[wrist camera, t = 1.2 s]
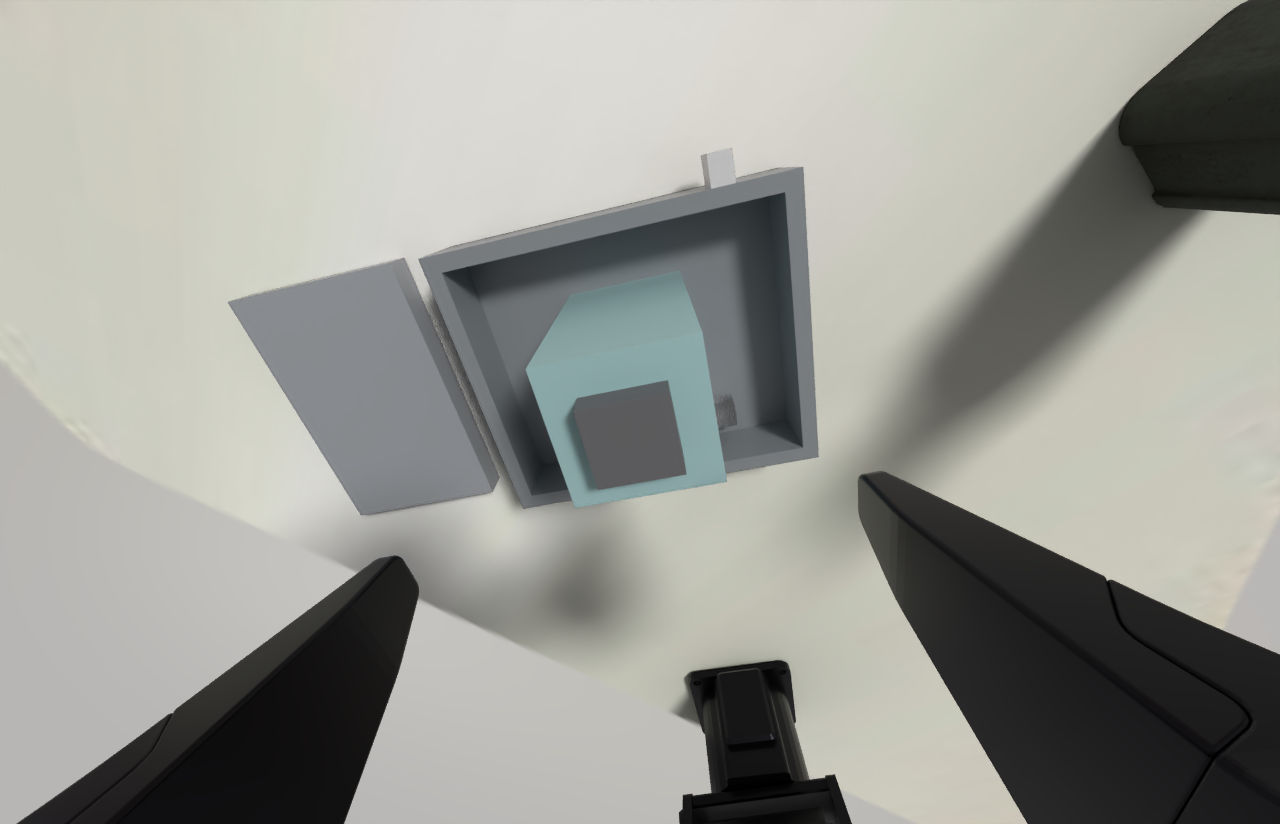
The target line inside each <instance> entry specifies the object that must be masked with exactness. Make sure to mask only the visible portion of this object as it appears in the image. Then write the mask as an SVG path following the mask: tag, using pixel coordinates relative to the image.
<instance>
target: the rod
mask: <svg viewBox="0 0 1280 824" xmlns="http://www.w3.org/2000/svg"><path fill="white" fill-rule="evenodd" d="M713 400H714V406H715V412H716V418H717V424H718V429H719V428H725V427H730V426H735V425H737V416H736V410H735V405H734V401H733V397H732V395H731V394H728V395H722V396H717V397H713Z"/></svg>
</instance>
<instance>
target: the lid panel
mask: <svg viewBox="0 0 1280 824" xmlns="http://www.w3.org/2000/svg"><path fill="white" fill-rule="evenodd" d="M228 304H229V305H230V307H231V308H232V310H233V312H234V313H235V315H236V316H237V318H238V320H239V321H240V323H241V324H242V326H243V328H244V329H245V331H246V332H247V334H248V336H249V337H250V339H251V340H252V342H253V344H254V345H255V347H256V348H257V350H258V352H259V353H260V355H261V356H262V358H263V360H264V361H265V363H266V364H267V366H268V368H269V369H270V371H271V372H272V374H273V376H274V377H275V379H276V380H277V382H278V384H279V385H280V387H281V388H282V390H283V392H284V393H285V395H286V396H287V398H288V400H289V401H290V403H291V404H292V406H293V408H294V409H295V411H296V412H297V414H298V416H299V417H300V419H301V420H302V422H303V423H304V425H305V427H306V428H307V430H308V431H309V433H310V435H311V436H312V438H313V439H314V441H315V443H316V444H317V446H318V447H319V449H320V451H321V452H322V454H323V455H324V457H325V459H326V460H327V462H328V463H329V465H330V467H331V468H332V470H333V471H334V473H335V475H336V476H337V478H338V479H339V481H340V483H341V484H342V486H343V487H344V489H345V491H346V492H347V494H348V495H349V497H350V499H351V500H352V502H353V503H354V505H355V507H356V508H357V510H358V511H359V513H360V515H367V514H373V513H378V512H384V511H389V510H395V509H400V508H406V507H411V506H417V505H422V504H428V503H434V502H439V501H445V500H450V499H456V498H461V497H467V496H472V495H478V494H483V493H489V492H493V490H494V488H495V486H496V484H497V482H498V480H499V475H498V473H497V471H496V468H495V466H494V464H493V461H492V459H491V457H490V454H489V452H488V450H487V447H486V445H485V443H484V441H483V438H482V436H481V434H480V431H479V429H478V427H477V424H476V422H475V420H474V417H473V415H472V413H471V411H470V408H469V406H468V404H467V401H466V399H465V397H464V394H463V392H462V390H461V387H460V385H459V383H458V381H457V378H456V376H455V374H454V371H453V369H452V367H451V364H450V362H449V360H448V357H447V355H446V353H445V351H444V348H443V346H442V344H441V341H440V339H439V337H438V334H437V332H436V330H435V327H434V325H433V323H432V321H431V318H430V316H429V314H428V311H427V309H426V307H425V304H424V302H423V300H422V297H421V295H420V293H419V291H418V288H417V286H416V284H415V281H414V279H413V277H412V274H411V272H410V270H409V267H408V265H407V263H406V261H405V258H402V259H398V260H394V261H389V262H385V263H381V264H377V265H373V266H369V267H364V268H360V269H356V270H352V271H348V272H344V273H340V274H335V275H331V276H327V277H323V278H319V279H315V280H310V281H306V282H302V283H298V284H294V285H290V286H286V287H281V288H277V289H273V290H269V291H265V292H261V293H257V294H252V295H249V296H245V297H242V298H239V299H236V300H233V301H229V302H228Z"/></svg>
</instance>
